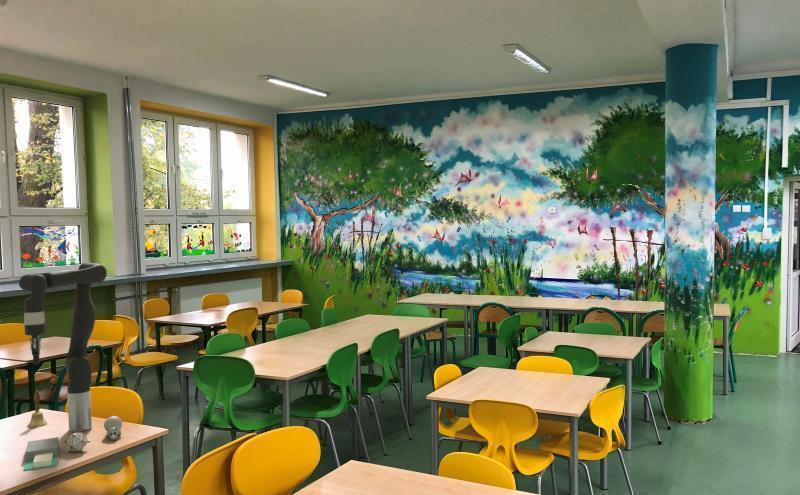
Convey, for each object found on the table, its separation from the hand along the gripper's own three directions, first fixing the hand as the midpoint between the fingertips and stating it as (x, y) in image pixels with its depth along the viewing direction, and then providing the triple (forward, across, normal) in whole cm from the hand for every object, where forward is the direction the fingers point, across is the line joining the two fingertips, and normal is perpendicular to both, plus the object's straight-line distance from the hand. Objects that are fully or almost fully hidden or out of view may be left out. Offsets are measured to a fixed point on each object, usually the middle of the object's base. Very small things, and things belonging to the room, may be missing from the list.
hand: (36, 364), depth 270 cm
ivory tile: (+35, -21, -2) cm, 40 cm away
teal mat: (+35, -21, -2) cm, 41 cm away
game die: (+35, -12, -14) cm, 40 cm away
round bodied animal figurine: (+35, 0, -28) cm, 45 cm away
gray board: (+35, -9, -2) cm, 36 cm away
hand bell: (+35, +37, +3) cm, 51 cm away
